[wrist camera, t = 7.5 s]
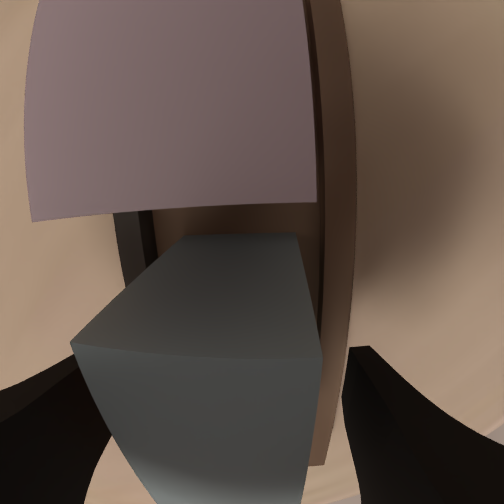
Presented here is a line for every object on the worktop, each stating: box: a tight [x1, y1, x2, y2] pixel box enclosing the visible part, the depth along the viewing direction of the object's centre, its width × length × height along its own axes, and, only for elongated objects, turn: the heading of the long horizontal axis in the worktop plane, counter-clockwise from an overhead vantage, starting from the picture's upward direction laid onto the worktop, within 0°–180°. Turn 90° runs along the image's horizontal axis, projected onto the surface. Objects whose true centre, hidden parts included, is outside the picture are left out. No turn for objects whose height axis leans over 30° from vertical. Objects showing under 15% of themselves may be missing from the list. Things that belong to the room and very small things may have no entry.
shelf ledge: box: [113, 0, 357, 466], centre depth 11 cm, size 8×22×2 cm, turn 3°
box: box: [24, 0, 317, 222], centre depth 6 cm, size 4×7×7 cm, turn 3°
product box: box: [70, 232, 323, 504], centre depth 8 cm, size 4×7×7 cm, turn 3°
